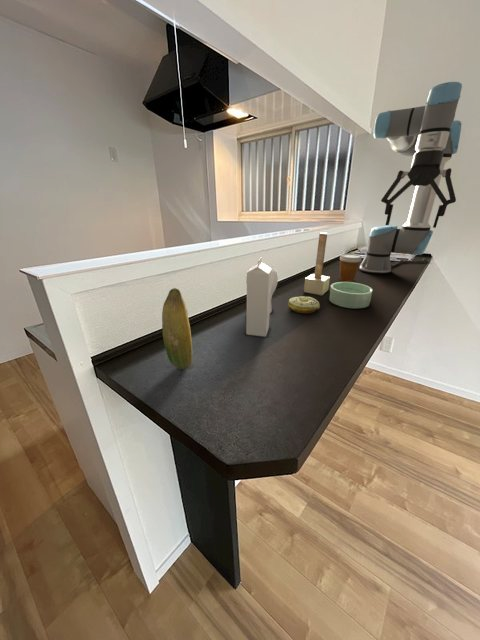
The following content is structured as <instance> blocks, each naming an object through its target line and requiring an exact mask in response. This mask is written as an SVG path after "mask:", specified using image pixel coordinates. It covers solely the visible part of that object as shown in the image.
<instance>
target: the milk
mask: <svg viewBox="0 0 480 640" xmlns="http://www.w3.org/2000/svg"><path fill="white" fill-rule="evenodd" d="M270 267H271V266H268V265H267V264H266V263H264V262H263V257H262V256H260V258H259V259H258V260H257V264H255V265H253V266H251V267H250V268H251V269H250V270H249V271H248V270H247V272H246V277H247V283H246V321H245V323H246V326H245V327H246V329H245V330H246V332H245V333H246V334H245V335H247V336H257V337H263V338H264V337H265V338H267V335H268V332H269V329H270V317H271V313H270V296H271V276H272V268H273V267H272V268H270Z"/></svg>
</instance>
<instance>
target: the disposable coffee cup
mask: <svg viewBox="0 0 480 640" xmlns="http://www.w3.org/2000/svg"><path fill="white" fill-rule="evenodd" d="M339 260H340V261H339V282H355V278H356V275H357V272H358V269H359V267H360V264H361V263H360V262H361V261H362V256H361V255H360V254H356V253H343V254H341V255H340V257H339Z"/></svg>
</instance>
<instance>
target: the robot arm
mask: <svg viewBox="0 0 480 640" xmlns="http://www.w3.org/2000/svg"><path fill="white" fill-rule="evenodd" d="M462 88H463V84H462V83H461V82H460V81H448V82H443V83H439V84H436V85H434V86H433V87H431V88H430V90H429V93H428V96H427V99H426V101H425V105H422V106H416V107H409V108H401V109H395V110H387V111H383V112H379V113H378V114H377V116H376V118H375V120H374V121H375V122H374V126H373V138H374V139H376V140H384V139H387V141H388V142H389V147H390V149H391V150H392V151H393V152H395V153H396V154H398V155H402V156H404V157H405V156H406V157H412V161H411V166H410V169H409V170H407V171H405V170H399V171H397V176H396V179H395V180H394V181H393V182H392V184H391V185H390V187H389V188H388V190H387V191H386V193H384V196H383V197H381V199H380V201H381V203H383V204H385V209H384V215H387V216H386V221H385V225H379V226H374V227H373V228H371V230H370V233H369V236H368V243H367V246H366V247H367V248H366V253H365V256H364V258H363V259H362V260H361V261H362V262H361V263H360V264H359V268H358V269H359V271H360V272H362V273H366V274H370V275H388V274H390V273H391V270H392V268H393V267H396V266H397V265H399V264H408V263H411V264H412V263H416V264H418V263H419V264H420V263H424V262H425V260H426V259H425V258H424V257H423V258H422V260H404V261H397V262H396V263H395V264H392V265H391V255H392V253H393V254H403V255H410V256H421V255H423V254H424V253H425V251H426V249H427V247H428V245H429V243H430V240H431V238H432V236H433V233H434V231H433V230H432V229H431V228H433V229H436V228H437V225H438V221H439V219H440V217H444V216H445V213H446V210H447V207H448V205H450V204H454V203H456V202H457V198H456V193H455V189H454V186H453V182H452V177H451V175H452V168H450V167H448V168H447V169H445V165H446V163H448V162H450V160H451V159H452V156H453V155H454V154H457V152H458V149H459V144H460V140H461V139H460V138H461V131H462V121H461V120H455V117H456V111H457V109H458V104H459V100H460V99H461V94H462ZM406 176H407V178H408V181H407V182H405V184H404V185H403V186H402V187H401V188H400V189H399V190H397V192H396V193H394V195H392V194H393V192H394V190H395V189H396V188H397V187H398V185H399V184H400V182H401V180H402V179H404V178H406ZM442 178H444V180H445V184H446V189H447V192H448V197H449V199H447V198H446V197H445V195H444V194H443V192H442V190H441V189H440V187H439V186H440V183H441V181H442V180H441V179H442ZM411 186H413V187H415V189H414V193H413V197H412V201H411V204H410V209H409V213H408V217H407V220H406V222H404V224H402V227H401V228H398V225H396V224H395V225H393V224H391V225H390V222H391V218H392V213H393V209H394V204H392V203H393V202H394V201H395V200H397V199H398V198H399V197H400V196H401V195H402V194H403V193H404V192H405V191H407V190H408V189H409V188H410V187H411ZM389 197H390V198H389ZM436 197H438V199H439V201H440V202H441V203H442V204H439V205H438V208H437V212H436V215H435V219H434V222H433V225H432V226H431V225H430V222H429V221H430V218H431V214H432V211H433V207H434V204H435V200H436Z"/></svg>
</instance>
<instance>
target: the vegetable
mask: <svg viewBox="0 0 480 640" xmlns="http://www.w3.org/2000/svg"><path fill="white" fill-rule="evenodd" d="M188 313H189V312H188V309H187V306H186V302H185V301H184V297H183V296H182V293H181V290H179V289H178V288H176V287H173V288H171V289H170V290H169V291H168V294H167V296H166V299H165V301H164V302H163V306H162V311H161V322H162V323H161V324H162V326H161V329H162V340H163V345H164V348H165V351H166V355H167V358H168V360H169V362H170V364H171V365H172V366H173V367H174V368H176V369H179V370H186V369H188V368H190V366H191V364H192V362H193V340H192V332H191V331H192V330H191V325H190V318H189V315H188Z"/></svg>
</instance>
